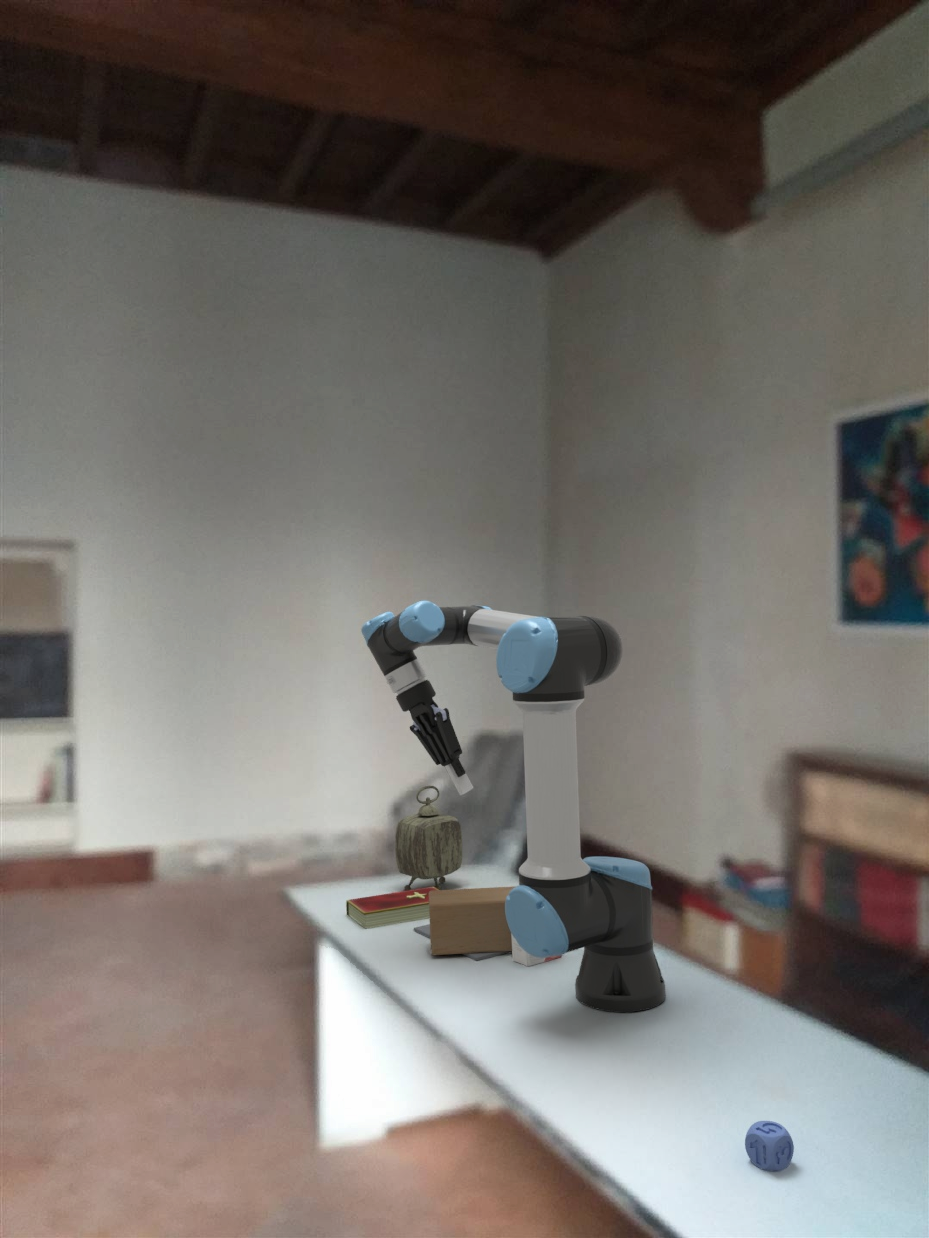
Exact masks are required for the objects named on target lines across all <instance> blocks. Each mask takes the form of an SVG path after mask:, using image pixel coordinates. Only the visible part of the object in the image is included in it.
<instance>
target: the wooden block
mask: <svg viewBox="0 0 929 1238" xmlns="http://www.w3.org/2000/svg"><path fill="white" fill-rule="evenodd" d="M516 886H517V885H516ZM516 886H499V887H498V886H496V887H495V886H494V887H476V888H460V889H459V888H458V889H454V888H453V889H440V890H433V891H429V917H430V918H429V924H430V938H429V939H430V940H429V941H430V943H429V944H430V954H431V955H433V956H440V955H441V956H442V955H460V954H462V955H463V954H464V953H483V952H502V951H512V938H511V931H510V929H509V926H508V923H507V920H506V915H505V902H506V898H507V896H508V895H509V892H510V891H511V890H512V889H513V888H515V887H516Z"/></svg>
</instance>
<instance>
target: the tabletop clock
mask: <svg viewBox="0 0 929 1238" xmlns="http://www.w3.org/2000/svg"><path fill="white" fill-rule="evenodd" d="M428 789H433V790H435V791H436V792H437V795H436V797H434V798H433V799H431V798H430V797H426V798H425V800H420V799H419V795H420V793H421V792H422V791H424V790H428ZM415 797H416V798H415V799H416V801H417V802H418V803H419V804H421V806H420V807H419V810H418V812H417V813H414V814H412V815H408V816H405V817H403V818H401V819H400V820H398V821H397V824H396V829H395V835H394V836H395V841H394V843H395V844H394V845H395V846H394V850H395V858H396V859H395V860H396V865H397V869H398V872H399V874H401V875H406V876H410V878H411V879H410V880H409V883H408V884H405V886H404V889H403V891H408V890H412V885H413V883H414V882H415V881H416V879H420V880H431V879H433V882H434V884H435V885H434V886H433V887H435V888H437V889H439V890H442V889H441V885H440V884H438V881H439V883H441V884H444V883H445V882H446V877H445V876H447V875H450V874H453V873H454V872H457V871H458V870H459V869H460V868H461V867H462V862H463V838H462V837H463V835H462V828H461V824H460V822H459V820H458V818H457V817H455V816H454V815H453V816H452V815H448V814H442V813H440V811H439V809H438V808H437V806H436V805H434V804H432V803H435V802H437V800H438V799H439V797H440V790H439V788H438V787H436V786H434V785H425V786H422V787H421V788H419V789H418V791H417V792H416V795H415Z"/></svg>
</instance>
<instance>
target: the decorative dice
mask: <svg viewBox="0 0 929 1238" xmlns="http://www.w3.org/2000/svg"><path fill="white" fill-rule="evenodd" d="M794 1145H795V1144H794V1141H793V1138H792V1136H791V1134H790V1132H789V1131H788V1129H787V1128H785V1127H784V1125H782V1124H781V1123H779V1122H776V1121H771V1120H758V1121H756V1122H754V1123H753V1124H752V1125H750V1127H749V1128H748V1129H747V1132H746V1135H745V1137H744V1148H745V1152H746V1154H747V1156H748V1158H749V1160H750V1161H751V1162H752V1164H754V1165H755V1166H756V1168H758V1169H761V1170H763V1171H767V1172H780V1171H783V1170H785V1169H786V1168H787V1167H788V1166H789V1165H790V1163H791V1162H792V1159H793V1156H794V1152H795V1150H794V1149H795V1147H794Z"/></svg>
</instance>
